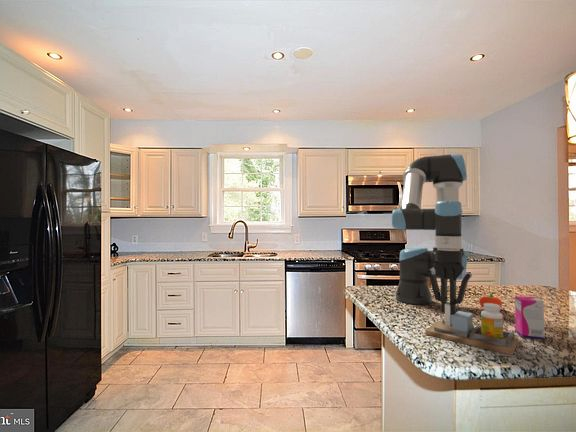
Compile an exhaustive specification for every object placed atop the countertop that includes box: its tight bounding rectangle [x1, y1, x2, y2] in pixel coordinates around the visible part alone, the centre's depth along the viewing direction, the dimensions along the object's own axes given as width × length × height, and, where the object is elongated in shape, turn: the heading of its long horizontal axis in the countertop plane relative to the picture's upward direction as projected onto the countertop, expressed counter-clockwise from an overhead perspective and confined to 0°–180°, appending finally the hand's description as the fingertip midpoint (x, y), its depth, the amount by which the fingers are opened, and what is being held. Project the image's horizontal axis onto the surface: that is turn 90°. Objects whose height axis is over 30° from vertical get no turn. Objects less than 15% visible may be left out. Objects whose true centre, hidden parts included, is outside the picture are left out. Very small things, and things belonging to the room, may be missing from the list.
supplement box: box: [514, 295, 546, 340], centre depth 95 cm, size 6×6×12 cm
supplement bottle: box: [480, 303, 504, 339], centre depth 89 cm, size 5×5×10 cm
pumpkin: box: [478, 292, 503, 309], centre depth 123 cm, size 7×8×6 cm
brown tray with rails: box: [425, 319, 519, 356], centre depth 93 cm, size 22×13×3 cm, turn 48°
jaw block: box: [452, 310, 474, 336], centre depth 94 cm, size 4×7×5 cm, turn 138°
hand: (448, 324), depth 97 cm, fingers closed
